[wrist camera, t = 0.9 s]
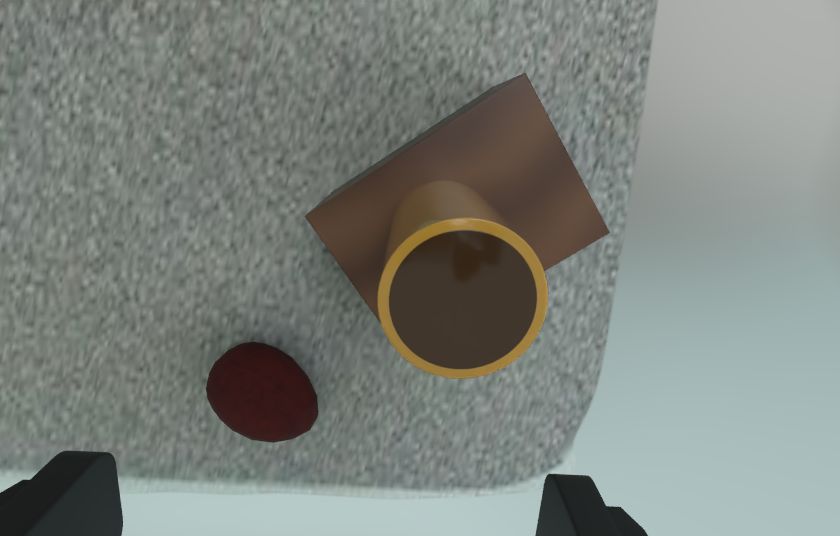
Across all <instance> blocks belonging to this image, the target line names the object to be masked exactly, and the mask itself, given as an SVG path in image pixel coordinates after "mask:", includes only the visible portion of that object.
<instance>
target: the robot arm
mask: <svg viewBox="0 0 840 536" xmlns="http://www.w3.org/2000/svg"><path fill="white" fill-rule="evenodd" d="M122 527H123V516H122V508H121V501H120V493H119V485H118V477H117V469H116V462H115V459H114V457H113V455H112V454H111V453H108V452H87V451H63V452H61V453H59V454H57V455H56V456H55V457H54V458H53V459H52V460H51V461H50V462H49V463H48V464H46V465H45V466H44V467H43V468H42V469H41V470H40V471H39V472H38V473H37V474H36V475H35V476H34V477H33V478H32V479H31V480H22V481H20V482H18V483H17V484H15V485H13V486H12V487H10V488H8V489H6V490H5V491H3V492H1V493H0V536H121V534H122ZM536 536H648V535H647V534H646V532H645V530H644V529H643V528H642V527H641V526H640V525H639V524H638V523H637V522H636V521H635V520H633V519H632V518H631V517H630V516H629V515H628V514H627V513H626V512H625V511H624V510H623V509H622V508H621V507H609V506H606V505H605V503H604V501H603V499H602V497H601V495H600V493H599V491H598V489H597V488H596V486H595V483H594V482H593V480H592V479H591V477H589V476H583V475H563V474H548V475H547V477H546V479H545V483H544V488H543V494H542V500H541V507H540V512H539V518H538V524H537V530H536Z"/></svg>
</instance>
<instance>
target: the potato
mask: <svg viewBox="0 0 840 536" xmlns="http://www.w3.org/2000/svg"><path fill="white" fill-rule="evenodd" d="M206 391H207V397H208V400H209V402H210V405H211V407H212V409H213V410H214V411H215V413H216V414H217V416H218V417H219V418H220V420H221V421H223V422H224V423H225V424H226V425H227V426H228V427H229V428H230V429H231V430H233V431H235V432H237V433H239V434H241V435H243V436H245V437H247V438H249V439H252V440H258V441H266V442H279V441H284V440H289V439H293V438H296V437H298V436H299V435H301V434H303V433H305V432H307V431H309V430H310V429H311V427H312V425H313V424H314V422H315V420H316V418H317V416H318V403H317V395H316V393H315V391H314V389H313V387H312V384H311V382H310V380H309V378H308V376H307V375H306V374H305V372H304V371H303V370H302V369H301V368H300V367H299V366H298V364H297V363H296V362H295V361H294V360H293V359H292V357H290V356H288V355H287V354H285V353H284V352H282V351H281V350H279V349H277V348H275V347H272V346H269V345H267V344H263V343H256V342H250V343H243V344H240V345H237V346H236V347H234V348H232V349H230V350H228V351H227V352H226V353H225V354H224V355H223V356H222V357H221V358H219V359H218V360H217V361H216V362H215V364H214V365H213V367H212V369H211V371H210V372H209V377H208V381H207V387H206Z"/></svg>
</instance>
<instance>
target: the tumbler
mask: <svg viewBox="0 0 840 536" xmlns="http://www.w3.org/2000/svg"><path fill="white" fill-rule="evenodd" d="M377 306H378V313H379V318H380V322H381V325H382V328H383V330H384V332H385V335H386V336H387V338H388V340H389V341H390V343H391V344H392V346H393V347H394V348H395V349H396V351H397V352H398V353H399V354H400V355H401V356H402V357H403V358H405V359H406V360H407V361H408V362H410V363H411V364H413V365H414V366H416V367H418V368H420V369H421V370H423V371H426V372H428V373H431V374H434V375H437V376H441V377H447V378H460V379H465V378H475V377H479V376H484V375H487V374H490V373H493V372H496V371H498V370H500V369H502V368H504V367H506V366H507V365H509V364H510V363H512V362H513V361H515V360H516V359H517V358H518V357H520V356H521V355H522V354H523V353H524V352H525V351H526V350H527V349H528V348H529V347H530V345H531V344H532V342H533V341H534V340H535V338H536V337H537V335H538V333H539V331H540V329H541V327H542V324H543V322H544V319H545V315H546V311H547V306H548V285H547V280H546V276H545V272H544V269H543V267H542V265H541V263H540V261H539V258H538V257H537V255H536V254H535V252H534V251H533V249H532V248H531V247H530V246H529V245H528V244H527V243H526V242H525V240H524V239H523V238H522V237H521V236H520V235H519V234H518V233H517V232H516V231H515V230H514V229H513V228H512V227H511V226H510V225H509V224H508V223H507V222H506V220H505V219H504V218H503V217H502V216H501V215H500V214H499V213H498V212H497V211H496V210H495V209H494V208H493V207H492V206H491V205H490V204H489V203H488V202H487V201H486V199H485V198H484V197H483V196H482V195H481V194H479V193H478V192H477V191H476V190H474V189H473V188H471V187H469V186H467V185H465V184H462V183H459V182H455V181H444V180H442V181H434V182H430V183H427V184H424V185H422V186H420V187H418V188H416V189H414V190H413V191H412V192H410V193H409V194H408V195H407V196H406V197H405V198H404V199H403V200H402V202H401V203H400V204H399V206H398V207H397V209H396V211H395V213H394V216H393V219H392V223H391V227H390V232H389V237H388V242H387V247H386V252H385V257H384V262H383V267H382V272H381V277H380V282H379V288H378V295H377Z"/></svg>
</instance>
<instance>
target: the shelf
mask: <svg viewBox="0 0 840 536" xmlns="http://www.w3.org/2000/svg"><path fill="white" fill-rule="evenodd" d="M442 180H444V181H455V182H459V183H462V184H465V185H467V186H469V187H471V188H473V189H474V190H476V191H477V192H478V193H479V194H481V195H482V196H483V197H484V198H485V199H486V201H487V202H488V203H489V204H490V205H491V206H492V207H493V208H494V209H495V210H496V211H497V212H498V213H499V214H500V215H501V216H502V217H503V218H504V219H505V220H506V222H507V223H508V224H509V225H510V226H511V227H512V228H513V229H514V230H515V231H516V232H517V233H518V234H519V235H520V236H521V237H522V238H523V239H524V240H525V242H526V243H527V244H528V245H529V246H530V247H531V248H532V249H533V251H534V252H535V254H536V255H537V257H538V258H539V261H540V263H541V265H542V267H543V269H544V271H545V270H547V269H548V268H550V267H552V266H554V265H555V264H557V263H559V262H560V261H562V260H564V259H566V258H567V257H569V256H571V255H572V254H574V253H576V252H578V251H579V250H581V249H583V248H584V247H586V246H588V245H590V244H591V243H593V242H595V241H596V240H598V239H600V238H602V237H603V236H605V235H607V234H608V233H609V230H608V228H607V226H606V225H605V223H604V221H603V219H602V217H601V215H600V213H599V211H598V209H597V208H596V206H595V204H594V202H593V200H592V198H591V196H590V194H589V192H588V191H587V189H586V187H585V185H584V183H583V181H582V179H581V177H580V175H579V174H578V172H577V170H576V168H575V166H574V164H573V162H572V160H571V158H570V157H569V155H568V153H567V151H566V149H565V147H564V145H563V143H562V141H561V140H560V138H559V136H558V134H557V132H556V130H555V128H554V126H553V124H552V123H551V121H550V119H549V117H548V115H547V113H546V111H545V109H544V107H543V106H542V104H541V102H540V100H539V98H538V96H537V94H536V92H535V90H534V89H533V87H532V85H531V83H530V81H529V79H528V77H527V75H526V74H525V73H524V74H522V75H519V76H517V77H515V78H513V79H510V80H508V81H506V82H503V83H501V84H499V85H496V86H494V87H492V88H491V89H489V90H488V91H486V92H485V93H483V94H482V95H480V96H479V97H477V98H475V99H474V100H472V101H471V102H469V103H468V104H466V105H465V106H463V107H462V108H460V109H459V110H457V111H456V112H454V113H452V114H451V115H449V116H448V117H446V118H445V119H443V120H442V121H440V122H439V123H437V124H436V125H434V126H433V127H431V128H430V129H428V130H426V131H425V132H423V133H422V134H420V135H419V136H417V137H416V138H414V139H413V140H411V141H410V142H408V143H407V144H405V145H403V146H402V147H400V148H399V149H397V150H396V151H394V152H393V153H391V154H390V155H388V156H387V157H385V158H384V159H382V160H380V161H379V162H377V163H376V164H374V165H373V166H371V167H370V168H368V169H367V170H365V171H364V172H362V173H361V174H359V175H358V176H356V177H354V178H353V179H351V180H350V181H348V182H347V183H345V184H344V185H342V186H341V187H339V188H338V189H336V190H335V191H333V192H332V193H331V194H330V195H328V196H327V197H326V198H325V199H324V200H323V201H322V202H321V203H319V204H318V205H317V206H316V207H315V208H314V209H313V210H311V211H310V212H309V213H308V214H307V215H306V216H305V217H306V219H307V220H308V221H309V223H310V224H311V226H312V227H313V229H314V230H315V231H316V233H317V234H318V236H319V237H320V238H321V240H322V241H323V243H324V244H325V246H326V247H327V248H328V250H329V251H330V253H331V254H332V255H333V257H334V258H335V260H336V261H337V262H338V264H339V265H340V267H341V268H342V270H343V271H344V272H345V274H346V275H347V277H348V278H349V279H350V281H351V282H352V284H353V285H354V286H355V288H356V289H357V291H358V292H359V294H360V295H361V296H362V298H363V299H364V301H365V302H366V303H367V305H368V306H369V308H370V309H371V311H372V312H373V313H374V315H375V316H376V318H377V319H378V320H379V322H380V318H379V313H378V306H377V295H378V288H379V282H380V277H381V272H382V267H383V262H384V257H385V252H386V247H387V242H388V237H389V232H390V227H391V223H392V219H393V216H394V213H395V211H396V209H397V207H398V206H399V204H400V203H401V202H402V200H403V199H404V198H405V197H406V196H407V195H408V194H409V193H410V192H412V191H413V190H414V189H416V188H418V187H420V186H422V185H424V184H427V183H430V182H434V181H442ZM380 323H381V322H380Z"/></svg>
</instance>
